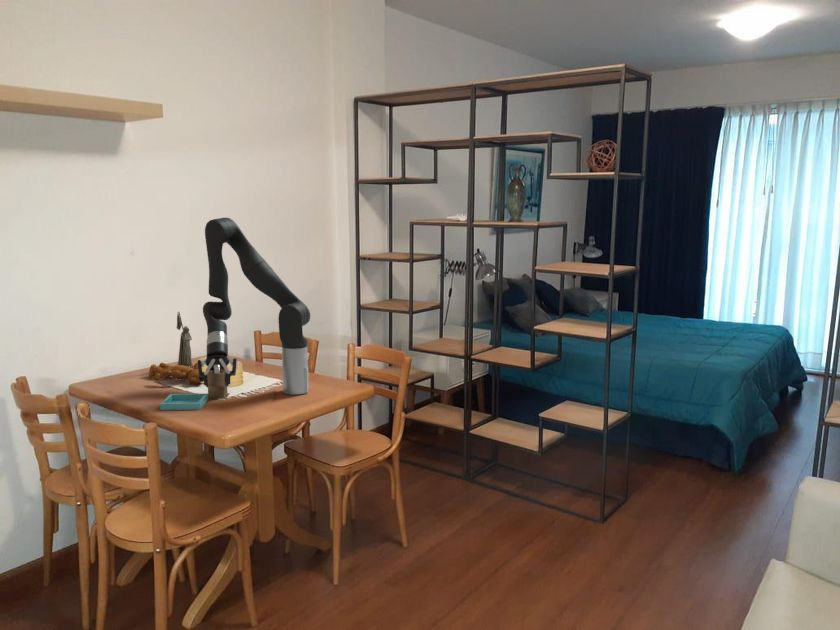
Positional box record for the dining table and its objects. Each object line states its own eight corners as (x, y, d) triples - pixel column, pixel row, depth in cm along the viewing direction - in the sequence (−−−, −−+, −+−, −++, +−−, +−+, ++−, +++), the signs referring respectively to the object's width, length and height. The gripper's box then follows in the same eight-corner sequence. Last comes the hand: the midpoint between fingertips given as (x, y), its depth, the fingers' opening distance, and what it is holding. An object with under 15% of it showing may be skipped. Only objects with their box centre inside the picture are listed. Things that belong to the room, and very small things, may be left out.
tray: (208, 400, 231) (208, 393, 231) (200, 410, 219) (200, 403, 219) (170, 401, 230) (170, 394, 229) (160, 411, 218) (160, 403, 218)
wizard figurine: (184, 373, 269) (182, 313, 265) (167, 371, 272) (164, 311, 268) (200, 367, 279) (198, 310, 275) (184, 365, 282) (181, 308, 278)
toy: (135, 383, 257) (183, 392, 241) (133, 366, 256) (181, 374, 240) (178, 373, 274) (226, 381, 257) (177, 357, 273) (225, 364, 256)
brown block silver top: (229, 394, 239) (228, 362, 237) (226, 399, 232) (224, 367, 230) (210, 394, 238) (209, 362, 236) (205, 400, 231) (204, 367, 230)
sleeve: (227, 393, 238) (226, 369, 237) (224, 398, 233) (223, 373, 231) (211, 393, 238) (210, 369, 236) (208, 398, 232) (207, 373, 231)
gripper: (196, 341, 237) (195, 381, 228) (237, 340, 241) (238, 379, 232) (197, 352, 243) (196, 391, 234) (237, 351, 247) (238, 389, 238)
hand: (217, 385), depth 233 cm, fingers closed on sleeve, 6 cm apart
